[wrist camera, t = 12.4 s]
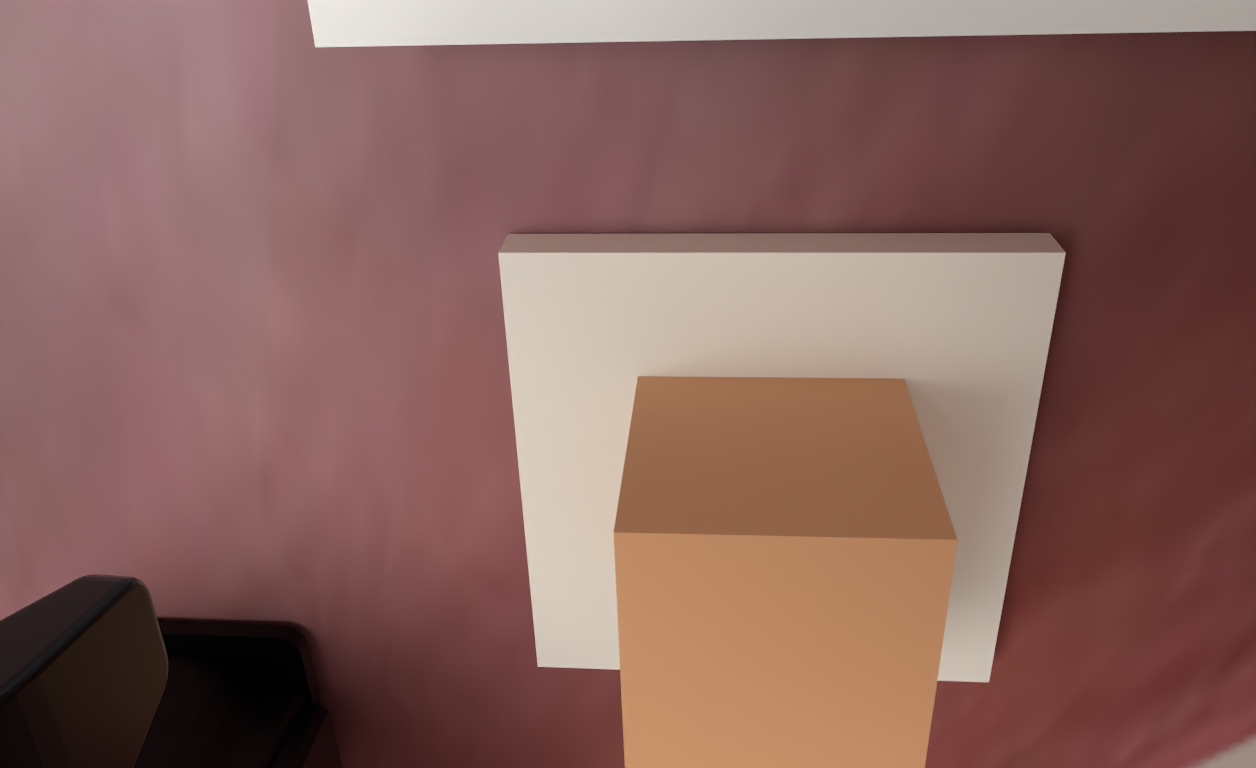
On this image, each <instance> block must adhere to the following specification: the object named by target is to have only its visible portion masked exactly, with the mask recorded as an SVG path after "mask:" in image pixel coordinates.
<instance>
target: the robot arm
mask: <svg viewBox="0 0 1256 768" xmlns="http://www.w3.org/2000/svg"><path fill="white" fill-rule="evenodd" d="M279 645H280V646H284V647H286V648H287V649H288V650H286V649H283V648H281V647H280V646H279ZM0 768H342V766H341V762H340V758H339V753H338V749H337V744H336V740H335V736H334V731H333V727H332V722H331V718H330V714H329V711H328V710H327V708H326V707H325V706H324V704H323V703H321V701H320V696H319V692H318V688H317V683H316V679H315V675H314V671H313V666H312V662H311V658H310V653H309V649H308V645H307V642H306V639H305V637H304V636H303V635H302V634H301V633H300V632H299V631H297V630H295V629H293V628H291V627H286V626H269V625H238V624H207V623H175V622H158V620H157V617H156V613H155V610H154V606H153V603H152V599H151V596H150V593H149V590H148V588H147V587H146V585H145V584H144V583H143V582H142V581H141V580H139V579H137V578H134V577H127V576H111V575H87V576H83V577H81V578H78V579H76V580H74V581H73V582H71V583H69V584H67V585H65V586H63V587H62V588H60V589H58V590H56V591H54V592H52V593H51V594H49V595H47V596H45V597H43V598H41V599H39V600H38V601H36V602H34V603H32V604H30V605H28V606H27V607H25V608H23V609H21V610H19V611H17V612H16V613H14V614H12V615H10V616H8V617H6V618H4V619H3V620H1V621H0Z"/></svg>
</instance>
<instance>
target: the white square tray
mask: <svg viewBox="0 0 1256 768" xmlns="http://www.w3.org/2000/svg"><path fill="white" fill-rule="evenodd" d="M308 6H309V12H310V18H311V24H312V30H313V36H314V42H315V47H356V46H412V45H469V44H526V43H582V42H639V41H696V40H753V39H809V38H866V37H923V36H979V35H1036V34H1093V33H1149V32H1206V31H1256V0H308Z"/></svg>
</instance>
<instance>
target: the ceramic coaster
mask: <svg viewBox="0 0 1256 768" xmlns="http://www.w3.org/2000/svg"><path fill="white" fill-rule="evenodd" d="M1065 254H1066V252H1065V251H1064V250H1063V249H1062V247H1061V246H1060V245H1059V244H1058V242H1057V241H1056V240H1055V239H1054V237H1053V236H1052V235H1051V234H1050V233H687V234H508V235H507V237H506V239H505V241H504V243H503V245H502V246H501V248H500V250H499V252H498V256H499V266H500V277H501V287H502V298H503V308H504V318H505V329H506V339H507V350H508V360H509V371H510V381H511V392H512V402H513V413H514V423H515V434H516V444H517V455H518V465H519V475H520V486H521V496H522V507H523V517H524V528H525V538H526V549H527V559H528V570H529V580H530V591H531V601H532V612H533V622H534V633H535V643H536V653H537V664H538V667H560V668H589V669H618V670H620V656H619V635H618V614H617V593H616V573H615V552H614V526H615V520H616V513H617V507H618V501H619V494H620V488H621V481H622V475H623V468H624V462H625V456H626V449H627V443H628V436H629V430H630V423H631V417H632V411H633V404H634V398H635V391H636V385H637V378H638V376H664V377H781V378H898V379H905V382H906V385H907V388H908V391H909V394H910V397H911V400H912V403H913V406H914V409H915V412H916V415H917V418H918V422H919V425H920V428H921V431H922V434H923V437H924V440H925V443H926V446H927V449H928V452H929V455H930V458H931V461H932V464H933V467H934V470H935V473H936V476H937V479H938V482H939V485H940V488H941V491H942V494H943V497H944V500H945V503H946V506H947V509H948V512H949V515H950V518H951V521H952V524H953V527H954V530H955V533H956V536H957V539H958V541H957V548H956V555H955V562H954V569H953V576H952V582H951V589H950V596H949V603H948V610H947V617H946V624H945V631H944V638H943V645H942V652H941V658H940V665H939V672H938V679H937V681H964V682H989V679H990V674H991V668H992V662H993V657H994V651H995V646H996V640H997V634H998V629H999V623H1000V618H1001V612H1002V607H1003V601H1004V595H1005V590H1006V584H1007V579H1008V573H1009V567H1010V562H1011V556H1012V551H1013V545H1014V539H1015V534H1016V528H1017V523H1018V517H1019V512H1020V506H1021V500H1022V495H1023V489H1024V484H1025V478H1026V472H1027V467H1028V461H1029V456H1030V450H1031V444H1032V439H1033V433H1034V428H1035V422H1036V417H1037V411H1038V405H1039V400H1040V394H1041V389H1042V383H1043V377H1044V372H1045V366H1046V361H1047V355H1048V349H1049V344H1050V338H1051V333H1052V327H1053V322H1054V316H1055V310H1056V305H1057V299H1058V294H1059V288H1060V282H1061V277H1062V271H1063V266H1064V260H1065Z"/></svg>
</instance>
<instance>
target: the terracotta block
mask: <svg viewBox="0 0 1256 768" xmlns="http://www.w3.org/2000/svg"><path fill="white" fill-rule="evenodd" d="M957 541H958V539H957V536H956V533H955V530H954V527H953V524H952V521H951V518H950V515H949V512H948V509H947V506H946V503H945V500H944V497H943V494H942V491H941V488H940V485H939V482H938V479H937V476H936V473H935V470H934V467H933V464H932V461H931V458H930V455H929V452H928V449H927V446H926V443H925V440H924V437H923V434H922V431H921V428H920V425H919V422H918V418H917V415H916V412H915V409H914V406H913V403H912V400H911V397H910V394H909V391H908V388H907V385H906V382H905V379H898V378H781V377H664V376H638V378H637V385H636V391H635V398H634V404H633V411H632V417H631V423H630V430H629V436H628V443H627V449H626V456H625V462H624V468H623V475H622V481H621V488H620V494H619V501H618V507H617V513H616V520H615V526H614V552H615V573H616V593H617V614H618V635H619V656H620V676H621V697H622V718H623V738H624V759H625V768H925V762H926V755H927V748H928V741H929V735H930V728H931V721H932V714H933V707H934V700H935V693H936V686H937V679H938V672H939V665H940V658H941V652H942V645H943V638H944V631H945V624H946V617H947V610H948V603H949V596H950V589H951V582H952V576H953V569H954V562H955V555H956V548H957Z"/></svg>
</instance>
